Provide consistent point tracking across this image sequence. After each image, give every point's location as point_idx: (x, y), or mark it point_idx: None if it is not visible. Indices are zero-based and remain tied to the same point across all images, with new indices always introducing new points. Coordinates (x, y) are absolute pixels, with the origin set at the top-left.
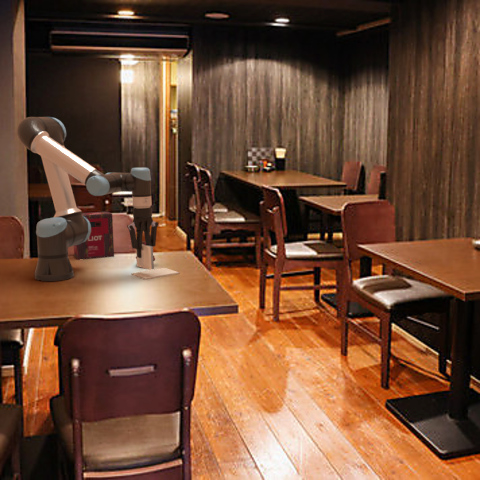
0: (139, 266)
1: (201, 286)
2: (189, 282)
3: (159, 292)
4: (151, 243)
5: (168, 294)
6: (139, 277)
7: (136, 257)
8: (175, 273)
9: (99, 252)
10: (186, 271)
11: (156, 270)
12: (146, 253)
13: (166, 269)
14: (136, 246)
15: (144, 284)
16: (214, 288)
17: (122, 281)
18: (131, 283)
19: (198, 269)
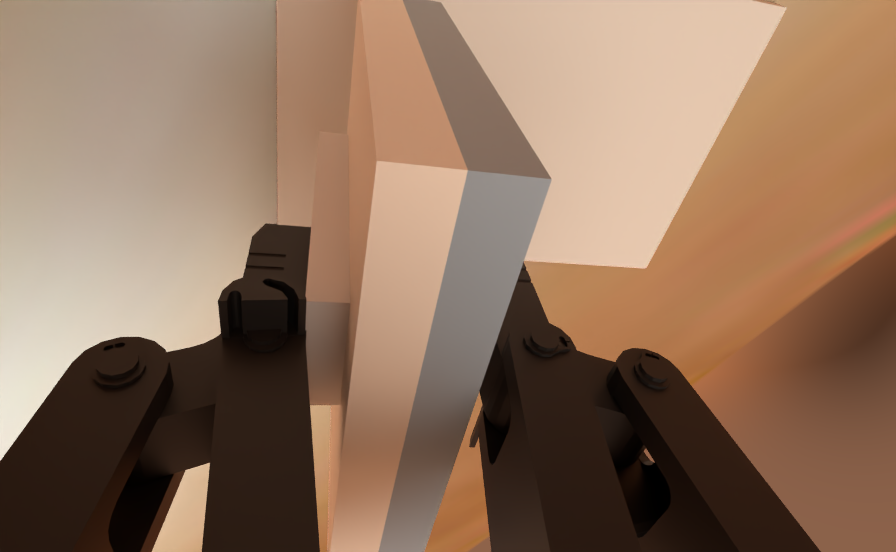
0: (351, 79)
1: (442, 512)
2: (467, 446)
3: (176, 506)
4: (619, 432)
5: (202, 540)
6: (278, 132)
7: (363, 26)
8: (608, 263)
9: None
10: (743, 238)
11: (614, 51)
12: (332, 425)
13: (706, 100)
14: (141, 492)
15: (185, 347)
16: (453, 546)
17: (7, 135)
18: (84, 263)
19: (843, 248)
